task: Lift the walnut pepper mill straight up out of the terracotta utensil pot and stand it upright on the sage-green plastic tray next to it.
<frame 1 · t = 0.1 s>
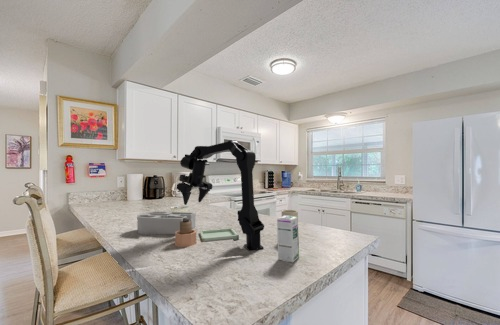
hand: (192, 203, 111), 15 cm above the worktop, tool pointing down, fingers open, 9 cm apart
tray: (218, 237, 107), on the worktop
utensil pot: (185, 245, 96), on the worktop
syrup box: (288, 259, 80), on the worktop
pepper mill: (185, 243, 96), point 1 cm above the worktop, touching utensil pot
ice cube tray: (164, 231, 119), on the worktop
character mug: (290, 241, 100), on the worktop
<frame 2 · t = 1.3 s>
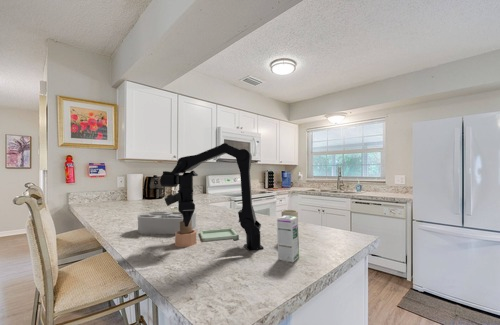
hand: (186, 224, 96), 9 cm above the worktop, tool pointing down, fingers open, 9 cm apart
nothing on the worktop moved.
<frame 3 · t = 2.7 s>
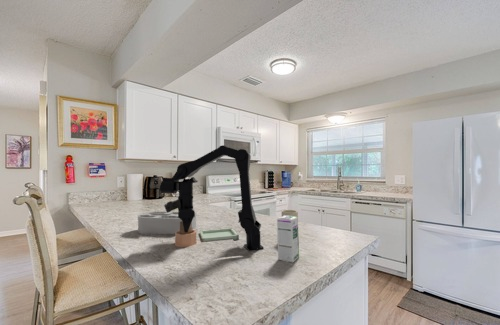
hand: (185, 230, 96), 6 cm above the worktop, tool pointing down, fingers closed on pepper mill, 5 cm apart
pepper mill: (185, 243, 96), point 1 cm above the worktop, touching gripper, utensil pot
everything else where it was.
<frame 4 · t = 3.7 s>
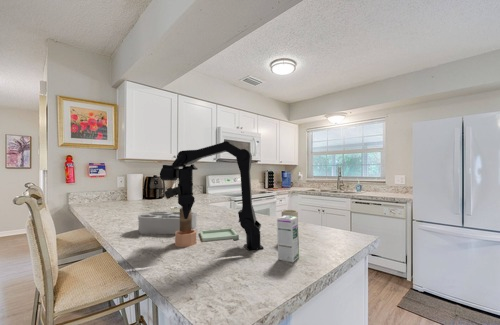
hand: (185, 217, 96), 11 cm above the worktop, tool pointing down, fingers closed on pepper mill, 5 cm apart
pepper mill: (185, 230, 96), point 6 cm above the worktop, touching gripper
everything else where it was.
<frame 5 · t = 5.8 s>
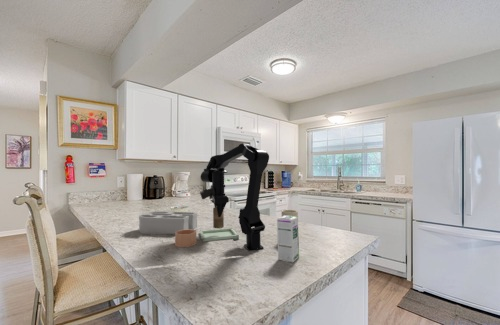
hand: (218, 215, 107), 10 cm above the worktop, tool pointing down, fingers closed on pepper mill, 5 cm apart
pepper mill: (218, 227, 107), point 5 cm above the worktop, touching gripper
when the fingers open (7 cm above the worktop, at t = 7.1 s): pepper mill drops 1 cm, resting on tray.
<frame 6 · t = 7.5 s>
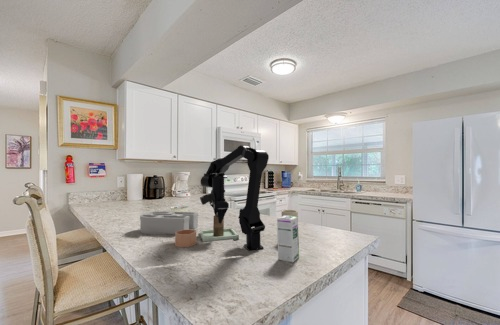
hand: (218, 221, 107), 7 cm above the worktop, tool pointing down, fingers open, 9 cm apart
pepper mill: (218, 235, 107), point 1 cm above the worktop, touching tray
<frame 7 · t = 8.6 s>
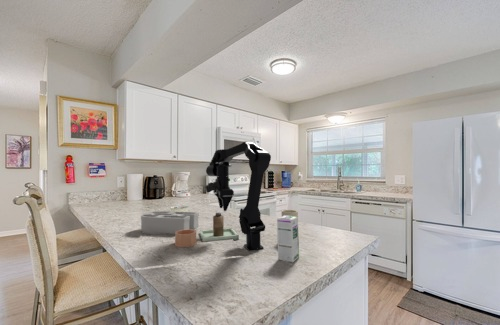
hand: (223, 209, 108), 13 cm above the worktop, tool pointing down, fingers open, 9 cm apart
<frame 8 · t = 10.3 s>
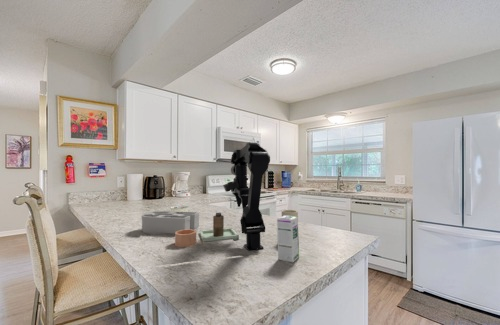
hand: (241, 208, 110), 13 cm above the worktop, tool pointing down, fingers open, 9 cm apart
at the end: pepper mill inside the target area on the tray (0.0 cm from its centre), point 0.8 cm above the tray's base; pepper mill tilted 1°; the gripper is holding nothing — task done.
